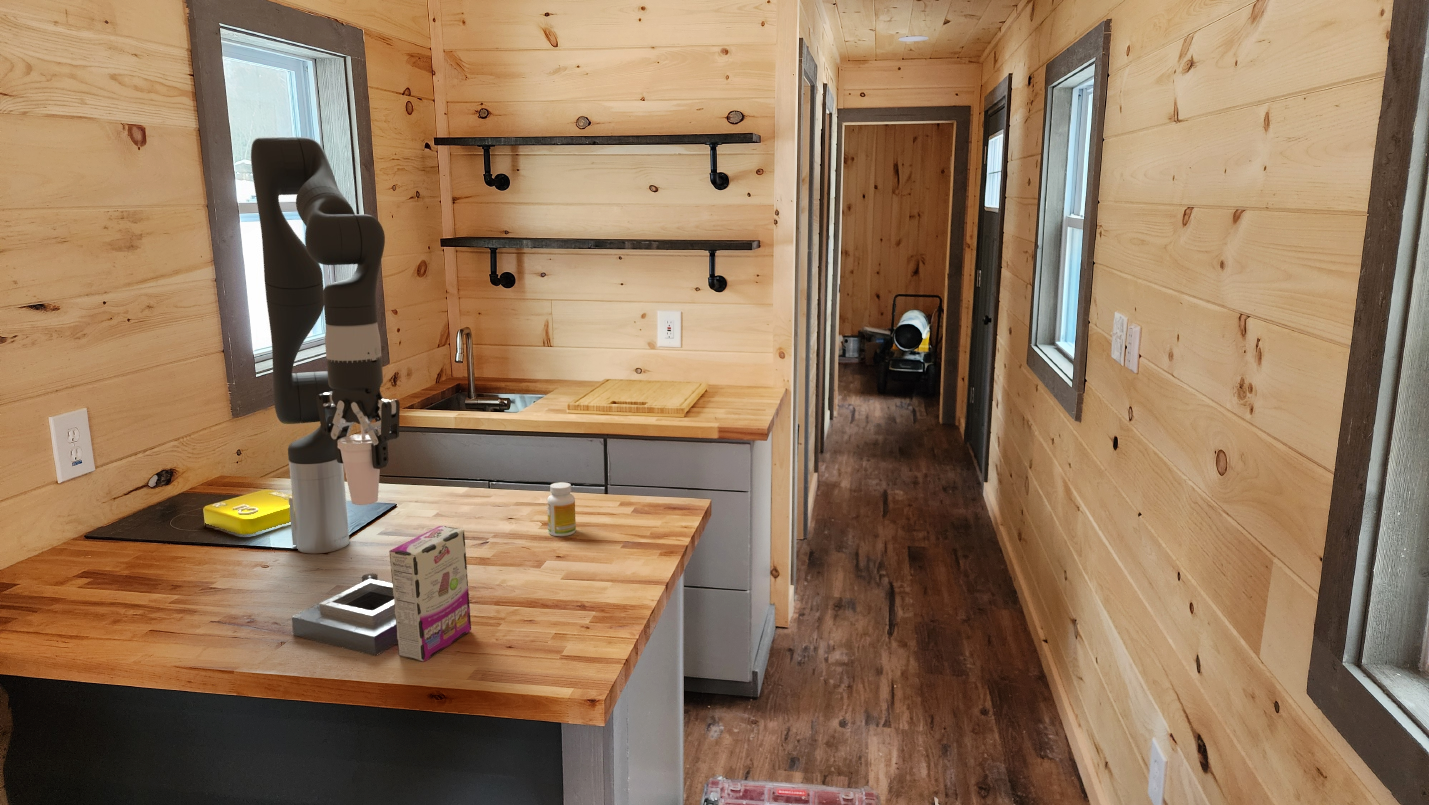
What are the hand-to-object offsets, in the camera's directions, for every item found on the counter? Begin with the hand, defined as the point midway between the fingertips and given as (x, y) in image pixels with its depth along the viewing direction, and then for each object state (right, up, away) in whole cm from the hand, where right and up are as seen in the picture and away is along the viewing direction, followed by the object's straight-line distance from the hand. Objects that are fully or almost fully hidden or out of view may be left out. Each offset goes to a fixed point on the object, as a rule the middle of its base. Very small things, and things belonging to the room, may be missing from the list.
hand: (362, 464), depth 140 cm
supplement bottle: (+22, -17, +46) cm, 54 cm away
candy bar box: (+11, -27, -1) cm, 29 cm away
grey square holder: (0, -25, +5) cm, 25 cm away
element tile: (-40, -16, +51) cm, 67 cm away
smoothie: (0, -6, +1) cm, 6 cm away
